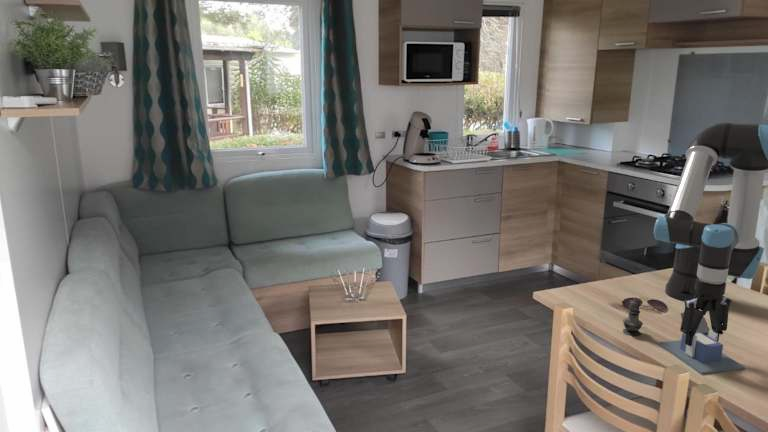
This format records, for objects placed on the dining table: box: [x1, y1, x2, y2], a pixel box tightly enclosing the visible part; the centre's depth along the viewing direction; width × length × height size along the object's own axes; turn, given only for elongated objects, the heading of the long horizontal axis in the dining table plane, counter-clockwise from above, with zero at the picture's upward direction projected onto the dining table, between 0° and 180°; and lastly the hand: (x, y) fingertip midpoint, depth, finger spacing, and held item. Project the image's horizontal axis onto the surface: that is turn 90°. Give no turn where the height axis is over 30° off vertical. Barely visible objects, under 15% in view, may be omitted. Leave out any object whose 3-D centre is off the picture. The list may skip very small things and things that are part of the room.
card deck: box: [680, 331, 724, 363], centre depth 170 cm, size 9×6×5 cm, turn 15°
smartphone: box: [680, 312, 709, 336], centre depth 192 cm, size 7×1×15 cm
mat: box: [658, 339, 745, 375], centre depth 171 cm, size 14×18×1 cm
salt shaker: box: [622, 297, 644, 337], centre depth 185 cm, size 6×6×12 cm
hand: (699, 353), depth 171 cm, fingers closed on card deck, 6 cm apart
